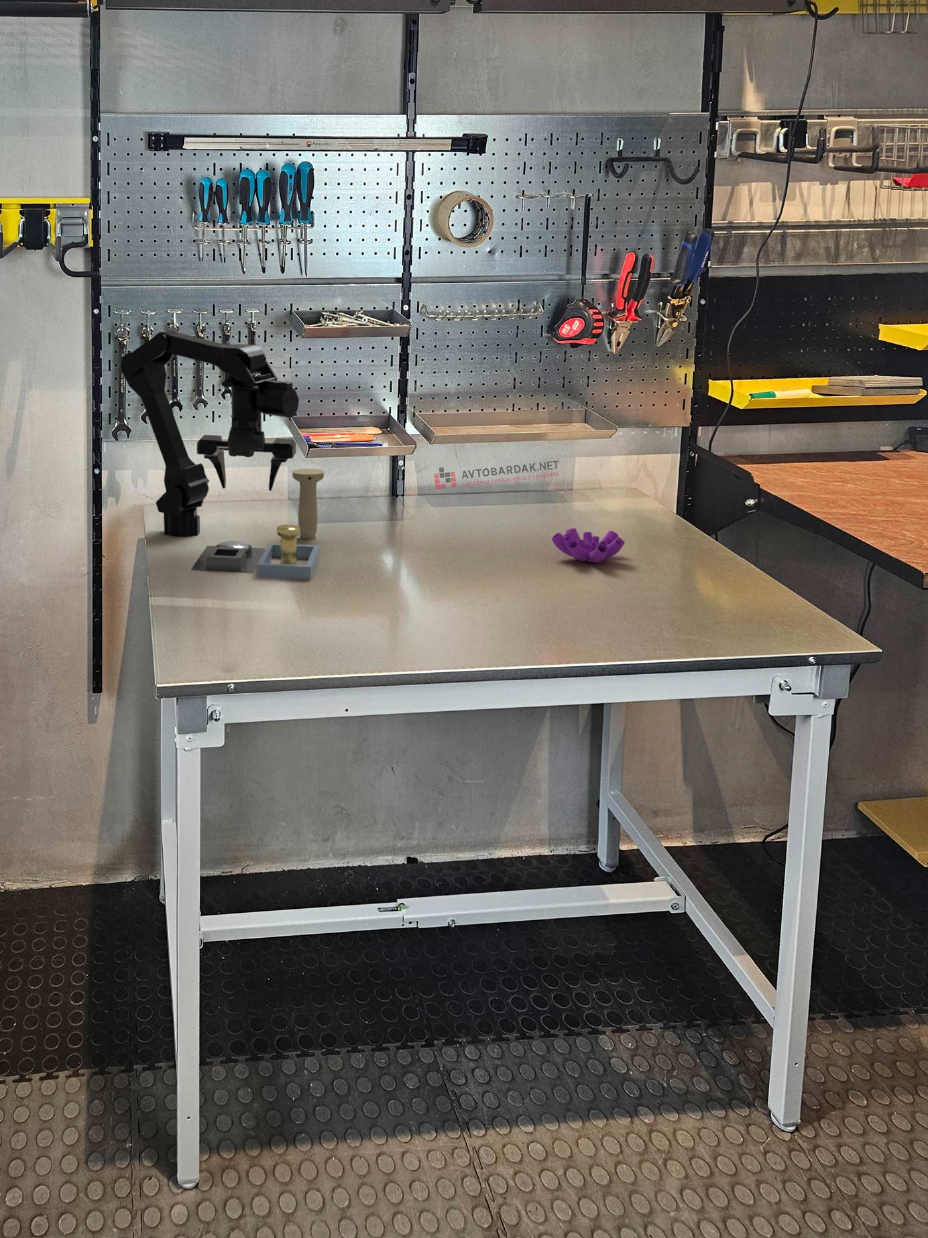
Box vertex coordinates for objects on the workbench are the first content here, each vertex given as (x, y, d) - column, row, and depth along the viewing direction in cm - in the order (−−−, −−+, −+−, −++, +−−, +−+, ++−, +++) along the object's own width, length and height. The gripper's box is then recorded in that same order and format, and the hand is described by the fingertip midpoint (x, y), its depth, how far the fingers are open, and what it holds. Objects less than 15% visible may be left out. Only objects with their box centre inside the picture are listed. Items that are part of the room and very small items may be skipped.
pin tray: (257, 582, 247) (257, 564, 245) (268, 560, 260) (268, 543, 258) (310, 585, 247) (310, 567, 245) (319, 562, 260) (319, 545, 259)
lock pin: (275, 571, 251) (275, 530, 248) (279, 564, 255) (278, 524, 252) (298, 572, 251) (298, 531, 248) (301, 565, 255) (301, 525, 252)
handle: (324, 544, 272) (325, 474, 266) (293, 545, 270) (293, 474, 265) (321, 538, 276) (322, 468, 271) (290, 538, 274) (291, 468, 269)
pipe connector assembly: (621, 581, 269) (625, 554, 261) (548, 575, 270) (550, 548, 262) (623, 537, 275) (627, 509, 267) (552, 532, 276) (554, 504, 268)
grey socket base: (190, 576, 248) (190, 557, 247) (207, 551, 263) (206, 534, 262) (253, 579, 248) (253, 561, 247) (266, 554, 263) (266, 537, 262)
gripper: (190, 417, 247) (192, 497, 252) (288, 421, 247) (288, 502, 252) (201, 405, 257) (203, 483, 263) (296, 410, 258) (296, 487, 263)
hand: (247, 489), depth 260 cm, fingers open, 9 cm apart
